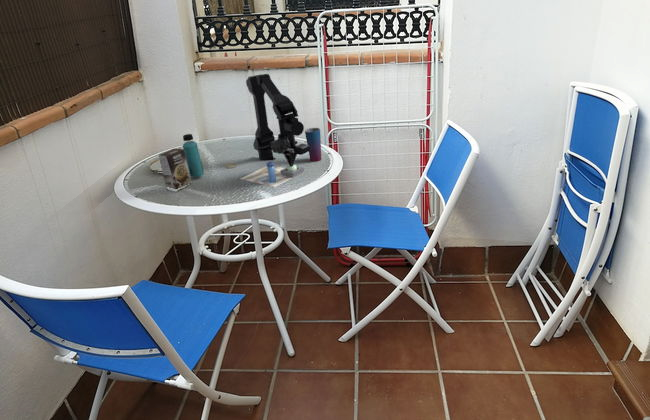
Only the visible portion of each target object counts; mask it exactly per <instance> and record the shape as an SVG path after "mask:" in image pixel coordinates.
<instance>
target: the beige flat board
mask: <svg viewBox="0 0 650 420" xmlns="http://www.w3.org/2000/svg"><path fill="white" fill-rule="evenodd" d="M285 168H286V167H281V166H276V165H274V169H275V176H276V182H274V183H270V181H269V175H268V169H267V165H266V166H264V167H261V168H260V169H257V170H256V171H253V172H252V173H250V174H247V175H245V176H243V177H241V178H240V180H241V181H248V182H252V183H255V184H259V185H265V186H269V187H271V188H272V187H274V188H277V187H278V186H281V185H282V184H284V183H286V182H288V181H290V180H292V179H294V178H295V177H297V176H299V175H297V176H295V177H294V178H293V177H288V176H283V175H281V170H283V169H285Z"/></svg>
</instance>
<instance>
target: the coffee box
mask: <svg viewBox="0 0 650 420" xmlns="http://www.w3.org/2000/svg"><path fill="white" fill-rule="evenodd" d="M158 159H160V164H161V168H162V172H163V174H162V175H163V179H164V183H165V187H169V188H173V189H178V188H181V187H183V186H185V185H188V184H190V183H192V184H193V182H192V179H191V178H192V177H191V176H190V173H189V169H188V165H187V160H186V156H185V152H184V149H183V148H172V149H169V150H167V151H165V152H162V153H160V154H158ZM188 186H189V185H188Z"/></svg>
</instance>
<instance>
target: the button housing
mask: <svg viewBox="0 0 650 420" xmlns="http://www.w3.org/2000/svg"><path fill="white" fill-rule="evenodd" d="M296 167H297V170H295V171H293V172H291V171H288V170H287V167H284V168H285V169H283V170H281V175H283V176H288V177H293V178H292V179H294V178H295V176H296V177H297V175H298V176H299V175H301V174H303V173H305V168H304V167H303V166H298V165H296Z"/></svg>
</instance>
